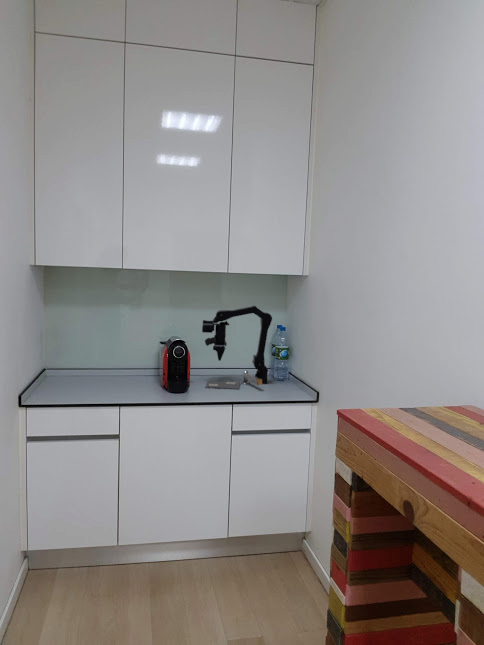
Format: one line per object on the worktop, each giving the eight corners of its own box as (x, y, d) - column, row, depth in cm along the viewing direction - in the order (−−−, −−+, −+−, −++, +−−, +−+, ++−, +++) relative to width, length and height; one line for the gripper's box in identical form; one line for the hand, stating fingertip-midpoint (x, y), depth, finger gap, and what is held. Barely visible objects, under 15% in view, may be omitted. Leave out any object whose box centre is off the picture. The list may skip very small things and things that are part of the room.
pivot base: (249, 382, 282) (250, 381, 282) (249, 384, 277) (249, 383, 277) (241, 382, 282) (241, 381, 282) (240, 384, 277) (240, 383, 277)
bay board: (240, 383, 278) (240, 381, 278) (239, 389, 265) (239, 387, 264) (207, 381, 279) (207, 380, 279) (205, 387, 265) (205, 386, 265)
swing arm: (242, 381, 280) (243, 370, 279) (246, 381, 281) (246, 370, 280) (257, 389, 263) (258, 378, 262) (261, 389, 264) (262, 377, 263)
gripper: (207, 330, 287) (206, 356, 289) (204, 334, 269) (203, 363, 270) (227, 331, 287) (226, 357, 289) (224, 335, 268) (223, 364, 270)
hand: (219, 360), depth 279 cm, fingers closed
